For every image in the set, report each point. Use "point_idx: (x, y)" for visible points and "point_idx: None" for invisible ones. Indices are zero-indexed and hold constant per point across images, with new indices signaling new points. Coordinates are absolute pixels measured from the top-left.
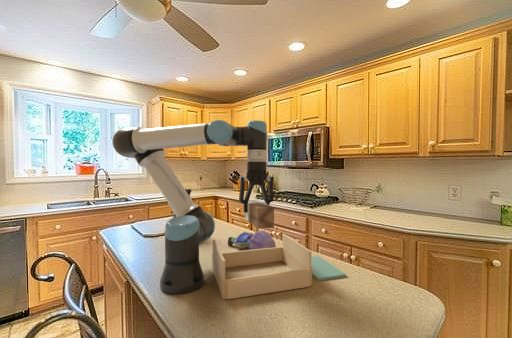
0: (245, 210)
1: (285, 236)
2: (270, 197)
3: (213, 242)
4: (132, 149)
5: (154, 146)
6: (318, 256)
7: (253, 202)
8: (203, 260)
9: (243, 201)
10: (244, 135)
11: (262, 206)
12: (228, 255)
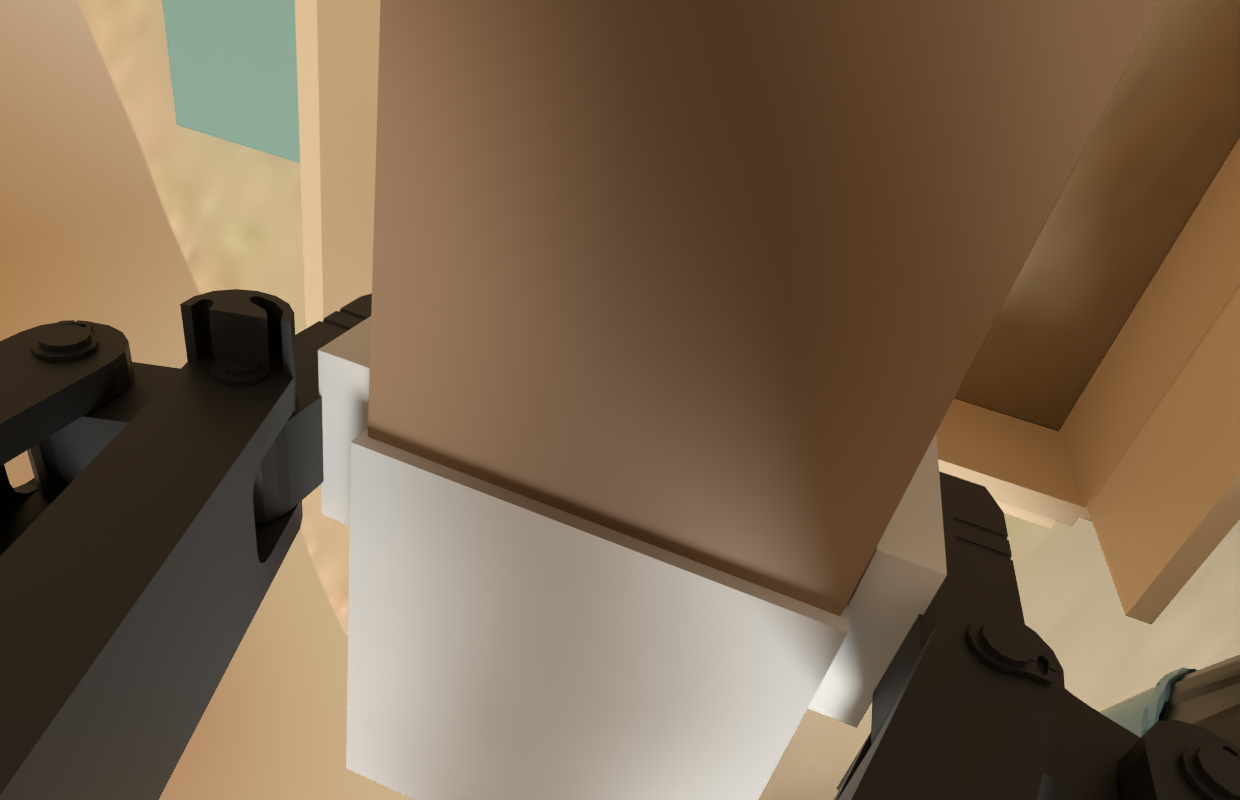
0: (979, 514)
1: (326, 261)
2: (39, 440)
3: (1195, 562)
4: None
5: None
6: (178, 119)
7: (654, 624)
8: (1026, 615)
9: (1097, 762)
10: None
11: None
12: (939, 445)
